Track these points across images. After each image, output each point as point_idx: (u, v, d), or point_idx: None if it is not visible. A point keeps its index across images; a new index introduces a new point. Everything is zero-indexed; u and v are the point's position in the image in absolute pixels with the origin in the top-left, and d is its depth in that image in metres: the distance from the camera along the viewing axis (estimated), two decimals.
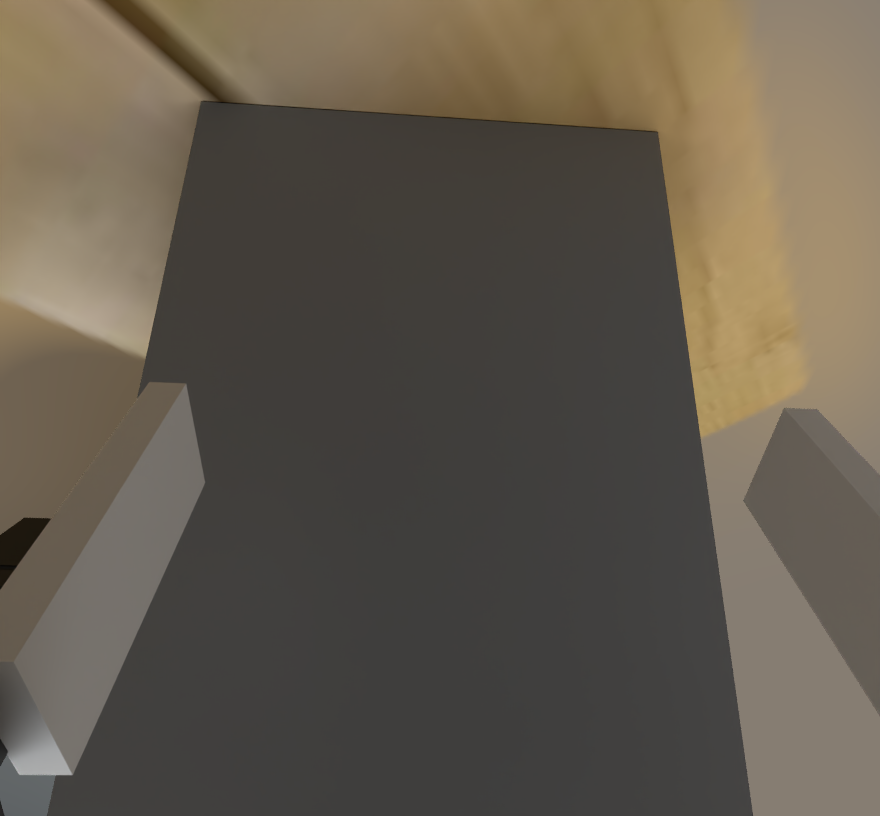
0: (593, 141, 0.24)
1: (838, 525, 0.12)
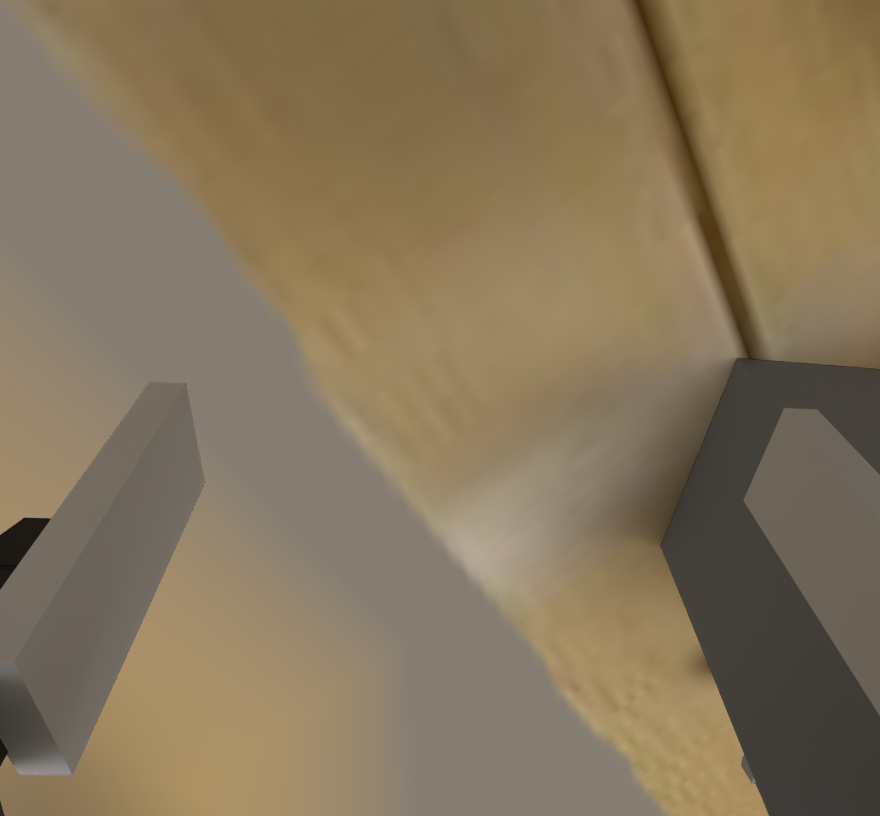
0: None
1: (839, 525, 0.12)
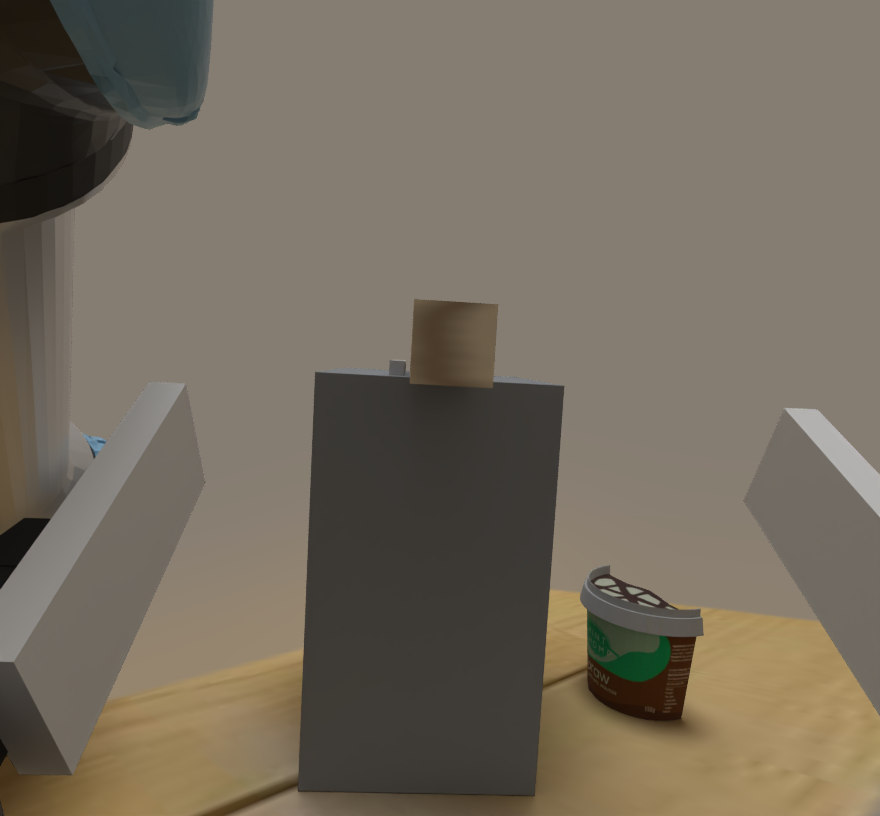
0: None
1: (839, 525, 0.12)
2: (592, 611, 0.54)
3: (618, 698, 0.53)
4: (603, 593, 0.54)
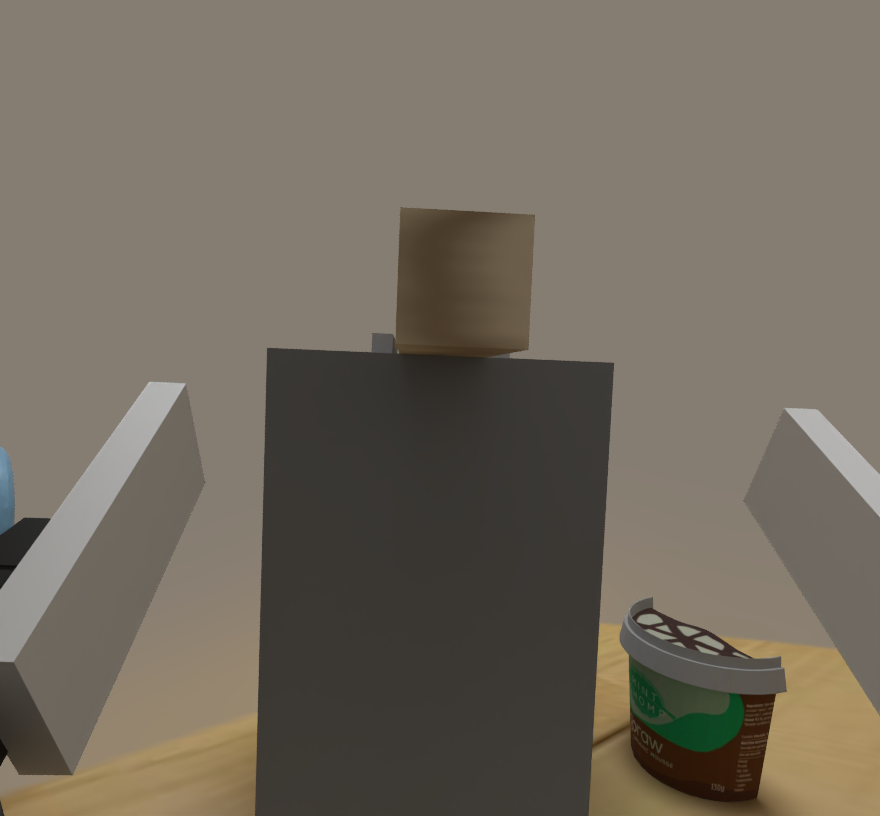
0: None
1: (840, 525, 0.12)
2: (638, 659, 0.43)
3: (675, 772, 0.42)
4: (652, 636, 0.42)
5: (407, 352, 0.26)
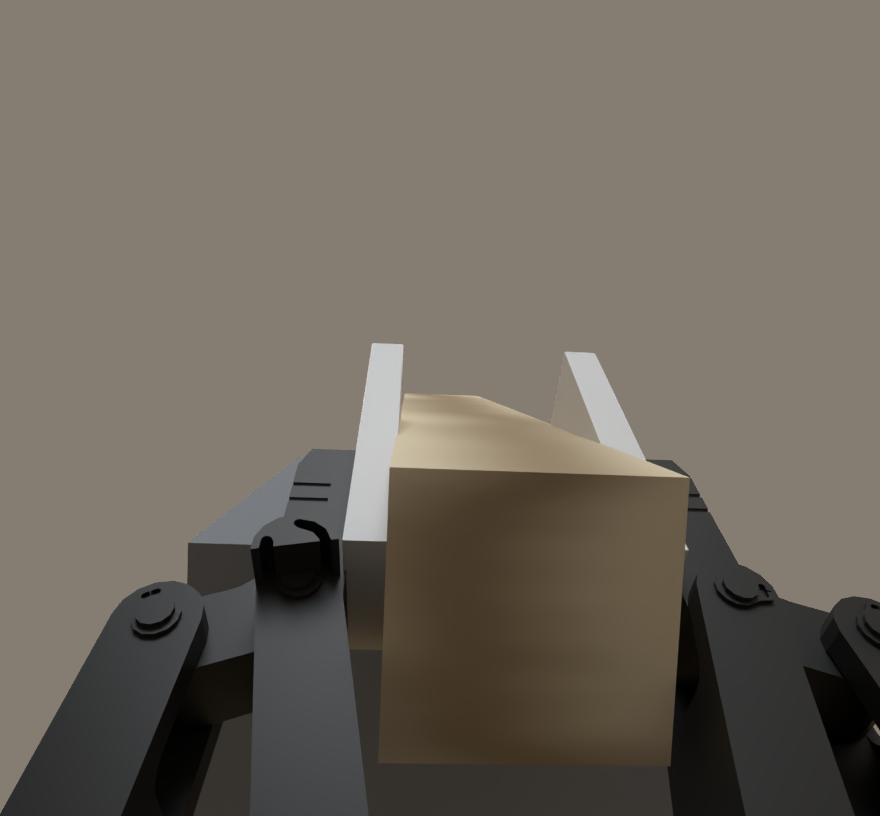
0: None
1: None
2: None
3: None
4: None
5: None
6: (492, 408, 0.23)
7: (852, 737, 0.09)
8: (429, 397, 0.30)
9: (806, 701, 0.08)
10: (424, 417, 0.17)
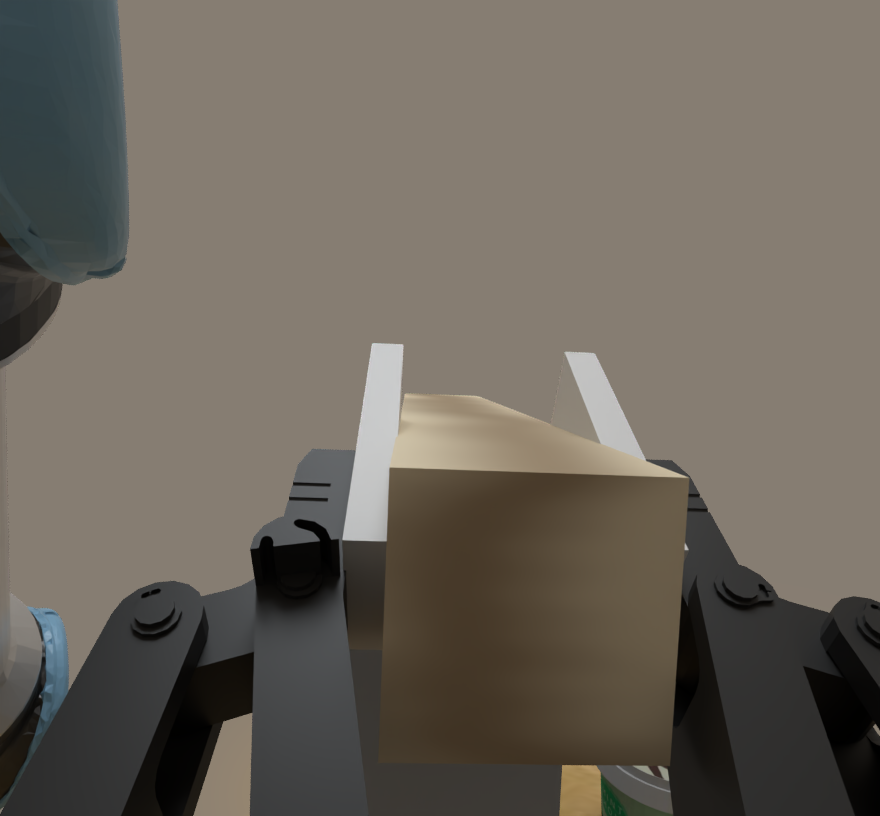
0: None
1: None
2: (606, 777, 0.49)
3: None
4: None
5: None
6: (492, 408, 0.23)
7: (852, 737, 0.09)
8: (429, 397, 0.30)
9: (806, 701, 0.08)
10: (424, 417, 0.17)
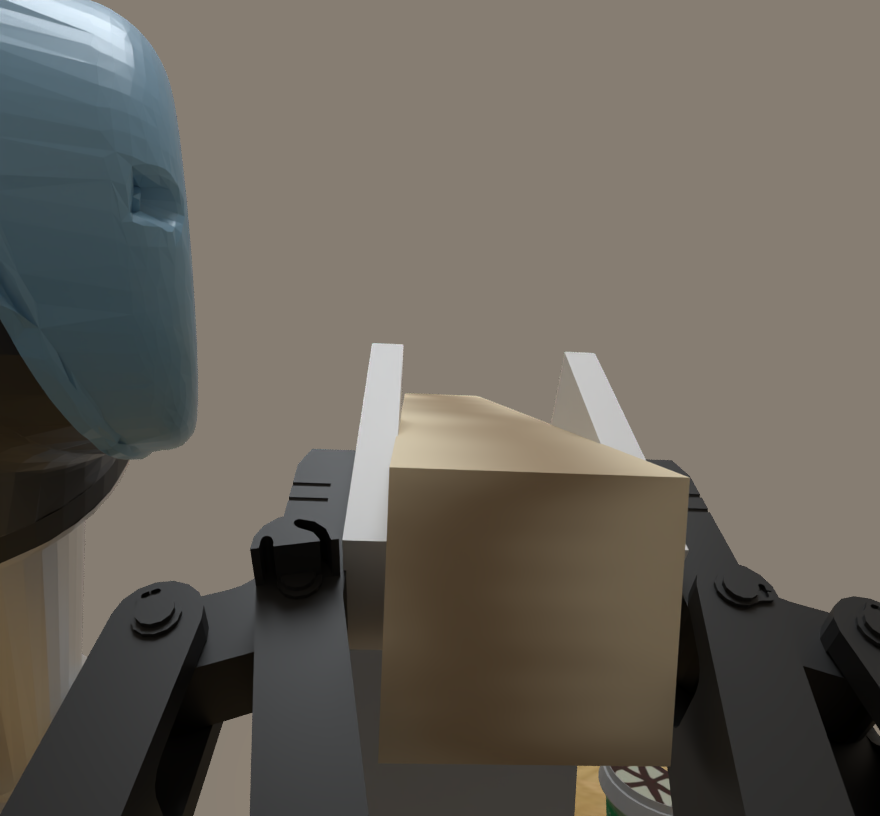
0: None
1: None
2: (612, 801, 0.53)
3: None
4: (623, 784, 0.53)
5: None
6: (492, 408, 0.23)
7: (852, 737, 0.09)
8: (429, 397, 0.30)
9: (806, 701, 0.08)
10: (424, 417, 0.17)
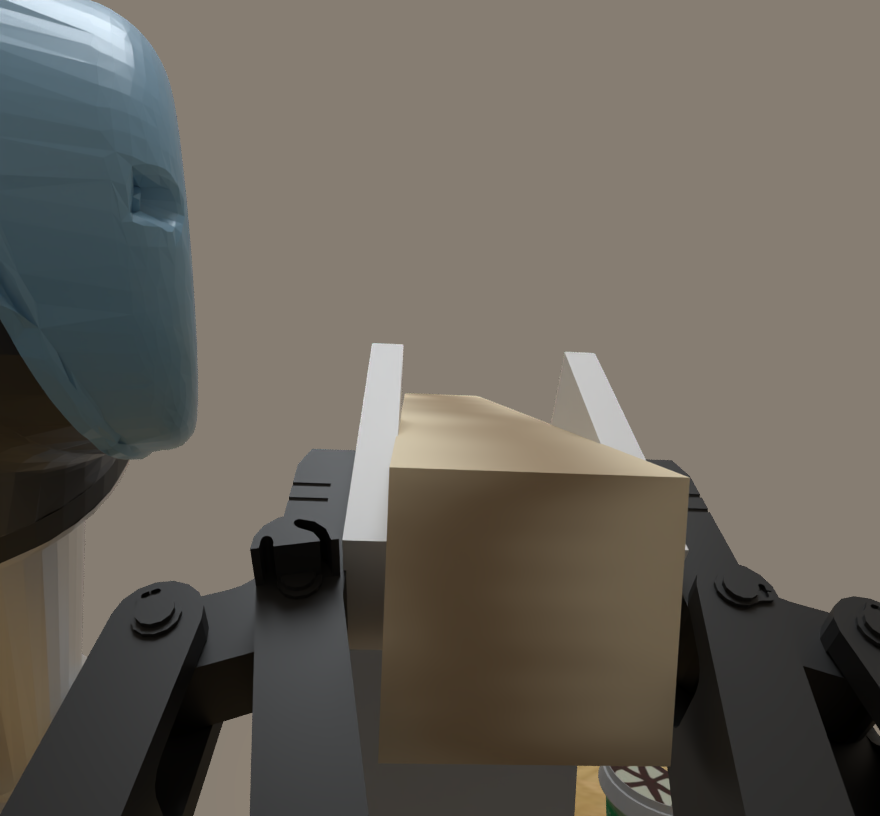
0: None
1: None
2: (612, 801, 0.53)
3: None
4: (623, 783, 0.53)
5: None
6: (492, 408, 0.23)
7: (852, 737, 0.09)
8: (429, 397, 0.30)
9: (806, 701, 0.08)
10: (424, 417, 0.17)
